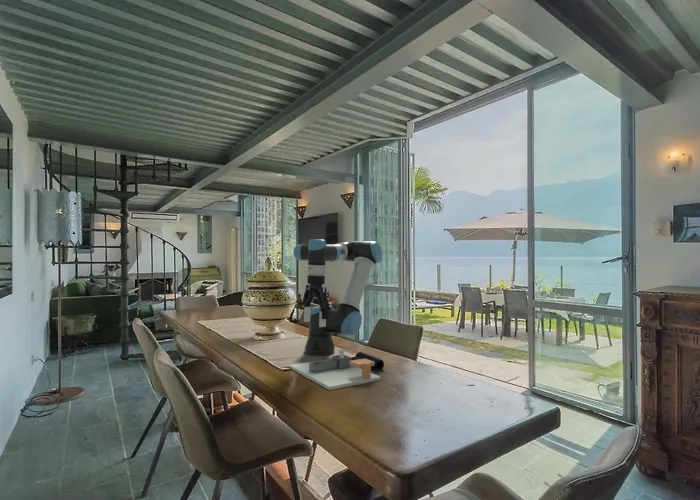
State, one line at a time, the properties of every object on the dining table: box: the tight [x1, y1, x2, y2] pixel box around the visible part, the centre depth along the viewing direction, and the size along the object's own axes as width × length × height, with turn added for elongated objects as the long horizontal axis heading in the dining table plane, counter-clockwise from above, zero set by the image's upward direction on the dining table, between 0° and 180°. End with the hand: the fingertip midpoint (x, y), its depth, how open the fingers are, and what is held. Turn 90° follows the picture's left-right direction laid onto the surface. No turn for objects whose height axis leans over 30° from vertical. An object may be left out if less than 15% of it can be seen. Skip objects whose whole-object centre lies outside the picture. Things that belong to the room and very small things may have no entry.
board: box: [288, 358, 381, 391], centre depth 158 cm, size 24×32×1 cm
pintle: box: [338, 350, 345, 358], centre depth 164 cm, size 2×2×8 cm
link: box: [309, 354, 351, 372], centre depth 160 cm, size 18×6×4 cm, turn 126°
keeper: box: [349, 358, 375, 379], centre depth 151 cm, size 8×7×7 cm
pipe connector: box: [351, 351, 385, 372], centre depth 169 cm, size 12×5×15 cm
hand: (314, 324), depth 165 cm, fingers open, 13 cm apart
